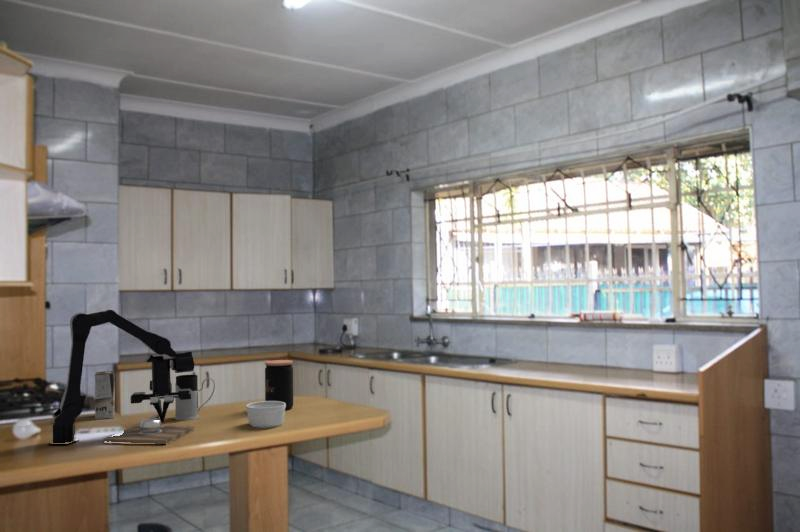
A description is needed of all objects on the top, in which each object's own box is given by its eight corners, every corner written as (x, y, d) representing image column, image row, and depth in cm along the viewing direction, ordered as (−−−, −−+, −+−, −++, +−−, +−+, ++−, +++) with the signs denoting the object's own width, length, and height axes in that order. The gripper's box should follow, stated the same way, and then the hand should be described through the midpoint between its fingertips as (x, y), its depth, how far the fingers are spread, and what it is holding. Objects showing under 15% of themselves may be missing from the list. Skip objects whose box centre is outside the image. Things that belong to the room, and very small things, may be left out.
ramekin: (255, 430, 226) (254, 409, 226) (240, 423, 237) (240, 403, 237) (292, 425, 233) (292, 404, 233) (276, 419, 244) (276, 399, 244)
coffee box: (114, 418, 249) (113, 373, 249) (94, 419, 246) (94, 374, 247) (114, 413, 257) (114, 370, 257) (96, 414, 255) (96, 371, 255)
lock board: (165, 445, 207) (165, 439, 207) (103, 443, 209) (103, 438, 209) (194, 430, 226) (194, 425, 226) (136, 429, 229) (136, 424, 229)
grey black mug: (173, 416, 250) (172, 375, 250) (213, 413, 255) (212, 372, 256) (175, 421, 242) (175, 378, 242) (216, 417, 247) (216, 375, 247)
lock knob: (158, 432, 215) (158, 421, 215) (138, 433, 214) (138, 422, 214) (165, 423, 228) (165, 413, 228) (146, 424, 227) (146, 414, 227)
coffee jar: (263, 407, 267) (263, 360, 267) (291, 405, 270) (290, 359, 270) (266, 412, 256) (266, 363, 257) (295, 410, 260) (295, 362, 260)
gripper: (192, 369, 236) (193, 415, 236) (134, 373, 232) (136, 419, 231) (190, 373, 225) (191, 421, 225) (129, 377, 221) (131, 426, 220)
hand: (162, 422), depth 226 cm, fingers closed
